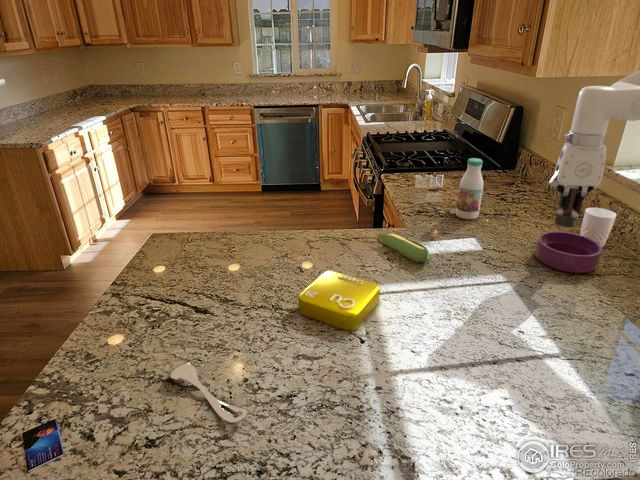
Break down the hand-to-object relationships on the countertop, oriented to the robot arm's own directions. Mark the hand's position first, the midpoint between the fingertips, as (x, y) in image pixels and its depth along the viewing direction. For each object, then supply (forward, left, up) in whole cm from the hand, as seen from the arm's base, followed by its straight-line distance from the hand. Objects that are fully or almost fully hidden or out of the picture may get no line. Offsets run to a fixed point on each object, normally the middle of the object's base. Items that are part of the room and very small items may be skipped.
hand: (568, 208), depth 113 cm
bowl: (-3, 0, -16) cm, 16 cm away
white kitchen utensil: (+78, +62, -16) cm, 101 cm away
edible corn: (+43, +1, -16) cm, 45 cm away
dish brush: (0, 0, -4) cm, 4 cm away
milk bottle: (+20, -30, -16) cm, 39 cm away
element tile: (+57, +31, -16) cm, 67 cm away
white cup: (-14, -13, -16) cm, 25 cm away
